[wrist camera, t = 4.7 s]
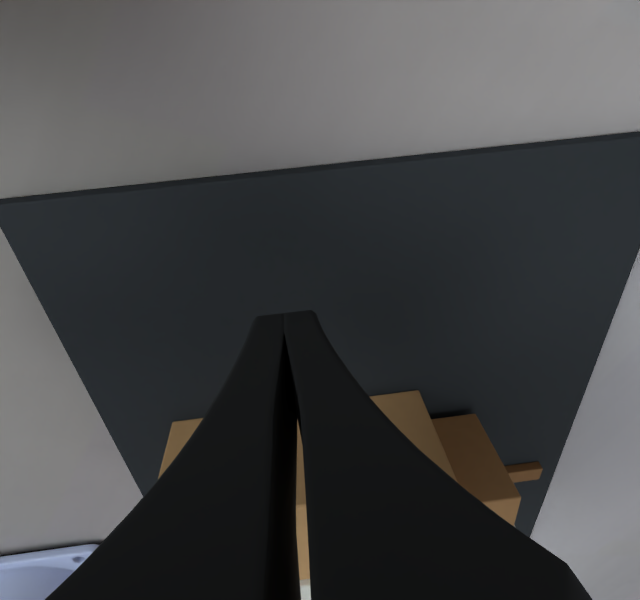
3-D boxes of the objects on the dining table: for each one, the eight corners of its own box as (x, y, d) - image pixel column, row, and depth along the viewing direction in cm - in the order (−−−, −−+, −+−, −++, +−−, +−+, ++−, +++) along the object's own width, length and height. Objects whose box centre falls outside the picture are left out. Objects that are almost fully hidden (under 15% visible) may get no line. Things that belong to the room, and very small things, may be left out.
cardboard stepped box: (197, 504, 18) (178, 624, 15) (164, 417, 16) (131, 536, 12) (473, 467, 19) (524, 572, 15) (488, 376, 16) (554, 477, 12)
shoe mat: (197, 587, 24) (195, 606, 23) (-3, 198, 11) (-21, 212, 10) (521, 540, 24) (529, 556, 24) (670, 127, 12) (696, 135, 11)
